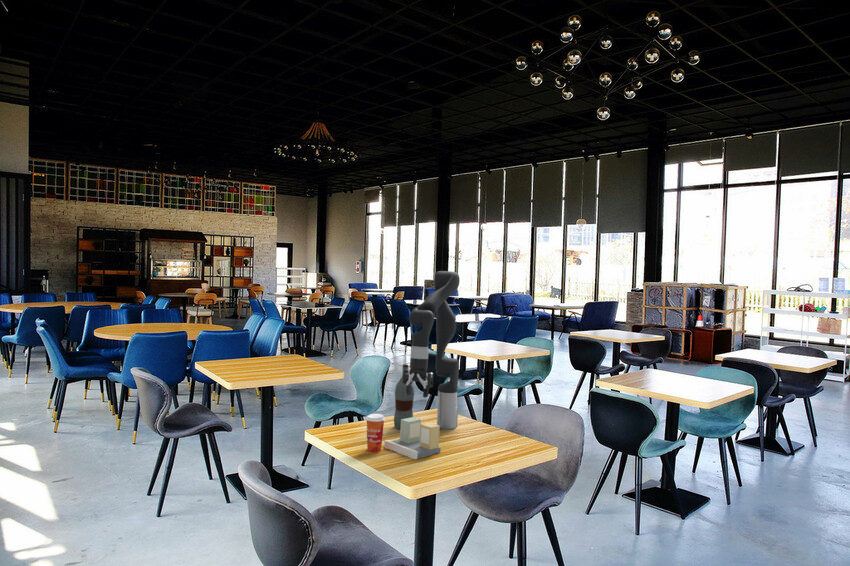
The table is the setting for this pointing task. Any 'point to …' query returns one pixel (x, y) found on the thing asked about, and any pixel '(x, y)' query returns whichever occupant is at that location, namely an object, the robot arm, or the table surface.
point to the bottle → (402, 402)
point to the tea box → (410, 430)
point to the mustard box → (429, 436)
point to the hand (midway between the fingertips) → (416, 395)
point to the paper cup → (374, 432)
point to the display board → (410, 449)
